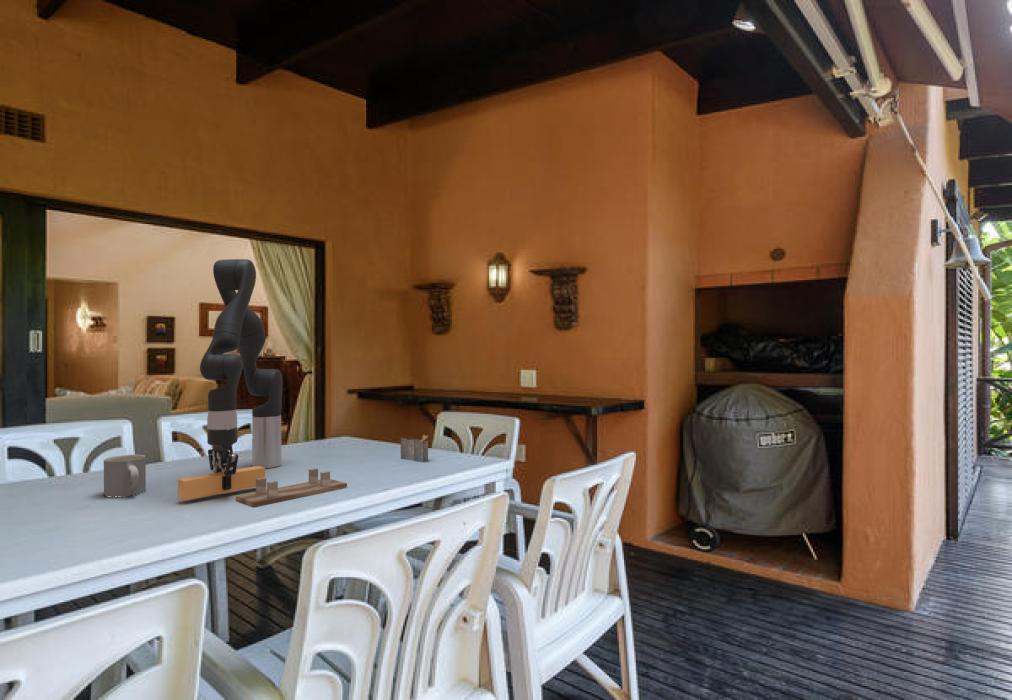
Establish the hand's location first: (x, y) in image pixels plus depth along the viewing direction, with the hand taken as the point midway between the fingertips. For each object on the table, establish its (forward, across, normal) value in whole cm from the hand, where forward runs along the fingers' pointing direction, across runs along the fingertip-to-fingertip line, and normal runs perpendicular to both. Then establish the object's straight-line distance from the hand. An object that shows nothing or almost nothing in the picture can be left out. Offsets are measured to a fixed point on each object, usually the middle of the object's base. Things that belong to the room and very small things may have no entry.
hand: (223, 487), depth 167 cm
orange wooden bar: (+1, 0, 0) cm, 1 cm away
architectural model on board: (+3, +1, +68) cm, 68 cm away
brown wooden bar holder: (+2, +13, +14) cm, 19 cm away
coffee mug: (+2, -22, -17) cm, 28 cm away
